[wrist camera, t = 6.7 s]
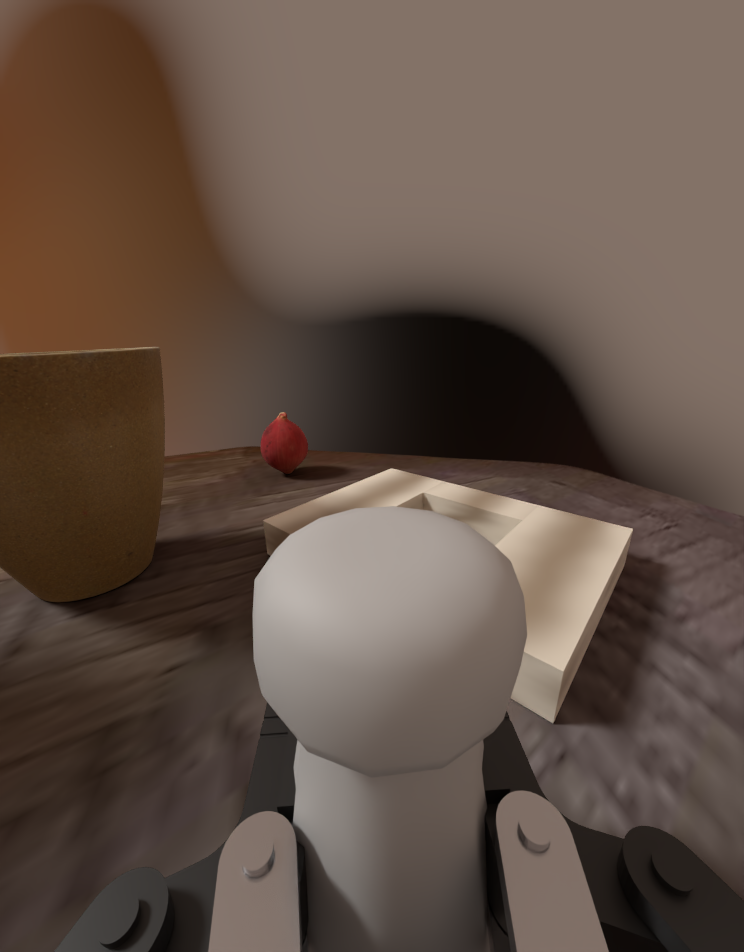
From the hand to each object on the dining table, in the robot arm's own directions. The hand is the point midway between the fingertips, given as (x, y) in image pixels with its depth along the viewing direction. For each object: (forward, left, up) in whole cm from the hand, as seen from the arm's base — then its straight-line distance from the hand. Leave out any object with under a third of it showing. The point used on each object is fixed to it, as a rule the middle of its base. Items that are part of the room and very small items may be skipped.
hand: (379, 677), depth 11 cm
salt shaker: (+2, -2, -7) cm, 8 cm away
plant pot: (-27, -2, -7) cm, 28 cm away
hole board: (-8, +16, -7) cm, 19 cm away
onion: (-34, +21, -7) cm, 41 cm away
